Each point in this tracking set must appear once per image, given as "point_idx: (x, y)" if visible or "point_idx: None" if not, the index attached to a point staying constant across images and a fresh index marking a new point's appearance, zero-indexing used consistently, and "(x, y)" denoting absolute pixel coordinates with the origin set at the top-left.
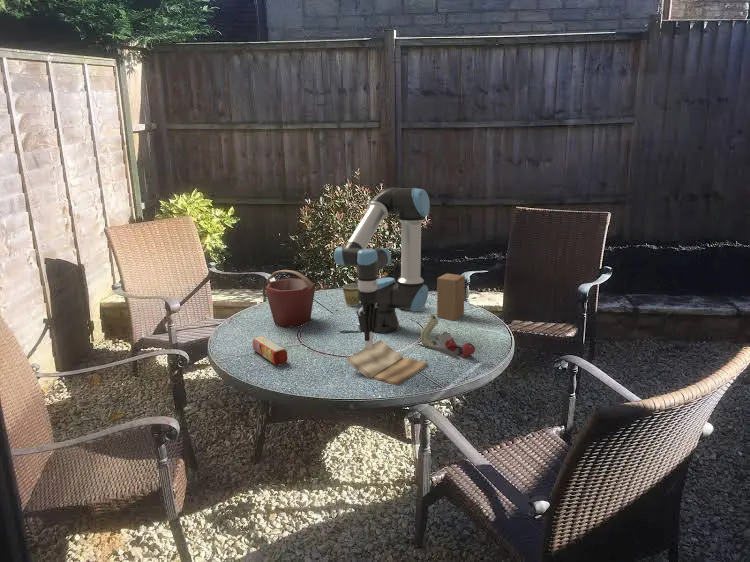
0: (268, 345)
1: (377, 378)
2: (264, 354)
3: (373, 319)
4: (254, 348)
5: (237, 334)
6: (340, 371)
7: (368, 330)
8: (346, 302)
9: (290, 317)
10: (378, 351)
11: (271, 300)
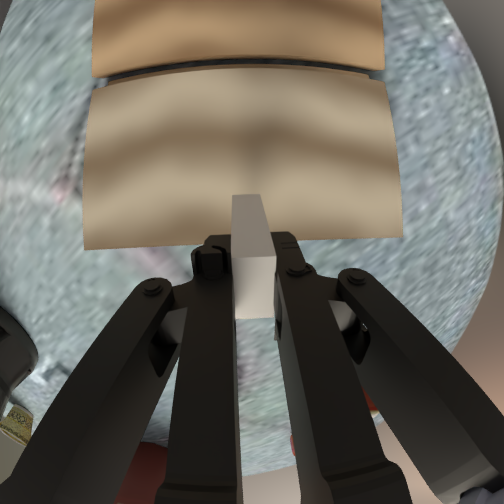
0: None
1: (382, 55)
2: None
3: (183, 391)
4: None
5: (258, 465)
6: (349, 247)
7: (318, 283)
8: (32, 421)
9: None
10: (180, 178)
11: None
